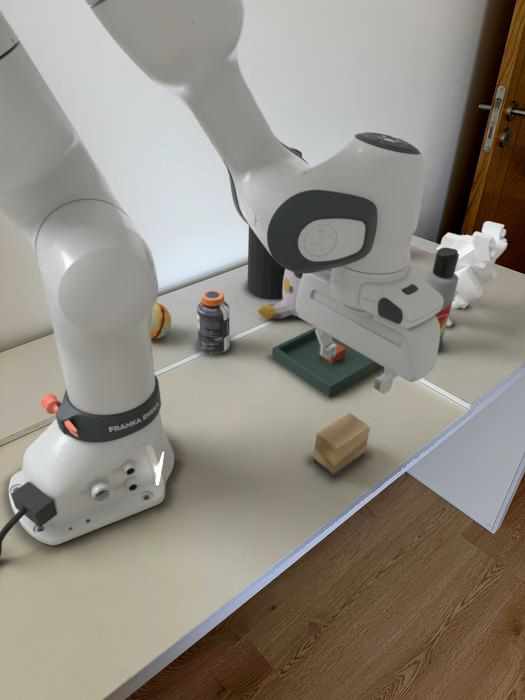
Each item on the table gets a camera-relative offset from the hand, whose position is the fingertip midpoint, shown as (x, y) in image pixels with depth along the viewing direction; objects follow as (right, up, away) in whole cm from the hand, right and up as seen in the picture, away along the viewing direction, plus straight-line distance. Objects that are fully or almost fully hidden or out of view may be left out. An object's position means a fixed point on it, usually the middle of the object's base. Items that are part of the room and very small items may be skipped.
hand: (353, 372), depth 72 cm
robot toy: (+28, +11, +45) cm, 54 cm away
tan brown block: (-1, -13, +9) cm, 16 cm away
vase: (-10, +17, +51) cm, 55 cm away
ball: (-33, +6, +34) cm, 48 cm away
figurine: (-6, +10, +42) cm, 44 cm away
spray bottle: (+20, +4, +35) cm, 40 cm away
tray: (+3, +2, +31) cm, 31 cm away
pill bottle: (-21, +3, +32) cm, 38 cm away
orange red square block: (+1, +2, +29) cm, 29 cm away
